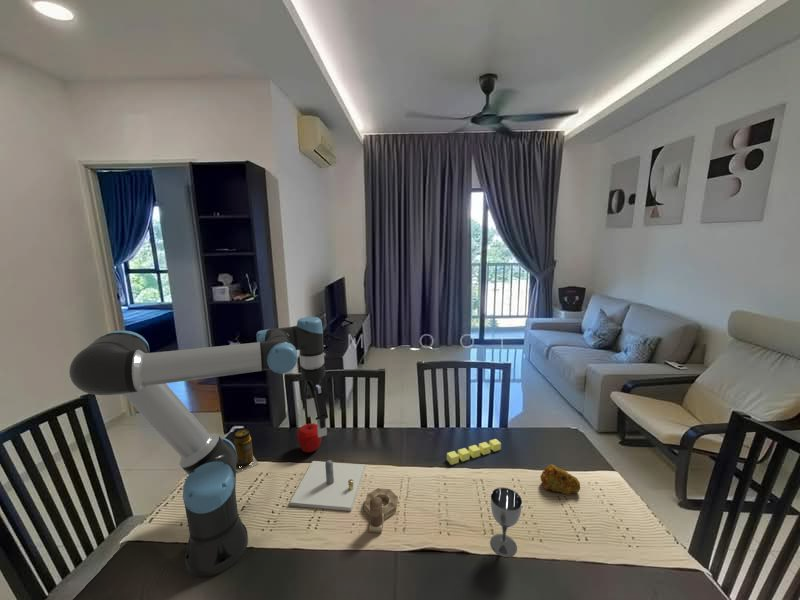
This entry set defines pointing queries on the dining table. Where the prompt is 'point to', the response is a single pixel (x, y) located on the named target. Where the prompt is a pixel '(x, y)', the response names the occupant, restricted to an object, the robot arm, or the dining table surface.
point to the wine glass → (505, 519)
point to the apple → (308, 437)
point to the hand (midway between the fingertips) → (316, 425)
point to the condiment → (244, 450)
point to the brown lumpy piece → (559, 480)
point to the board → (329, 486)
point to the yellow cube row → (473, 451)
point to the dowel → (350, 484)
